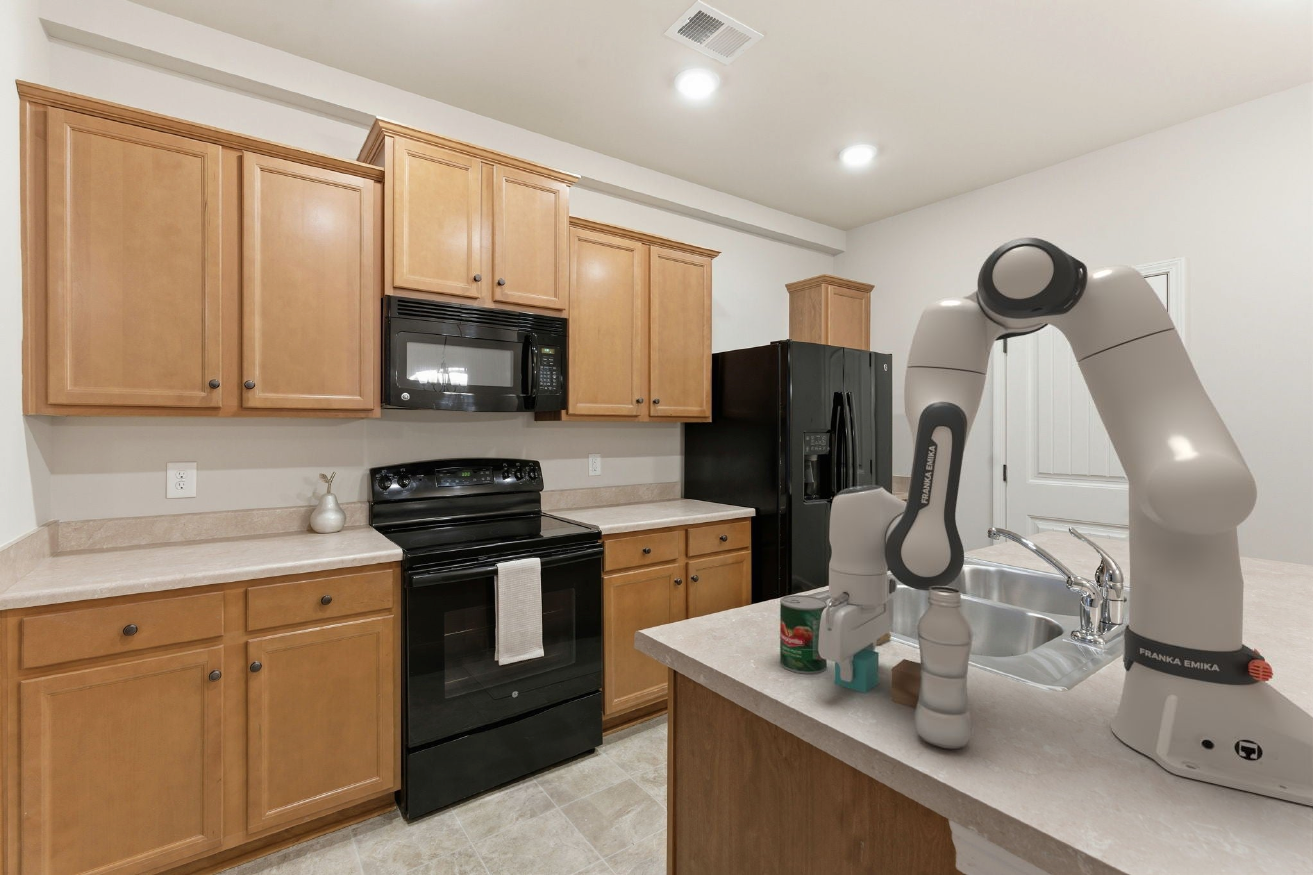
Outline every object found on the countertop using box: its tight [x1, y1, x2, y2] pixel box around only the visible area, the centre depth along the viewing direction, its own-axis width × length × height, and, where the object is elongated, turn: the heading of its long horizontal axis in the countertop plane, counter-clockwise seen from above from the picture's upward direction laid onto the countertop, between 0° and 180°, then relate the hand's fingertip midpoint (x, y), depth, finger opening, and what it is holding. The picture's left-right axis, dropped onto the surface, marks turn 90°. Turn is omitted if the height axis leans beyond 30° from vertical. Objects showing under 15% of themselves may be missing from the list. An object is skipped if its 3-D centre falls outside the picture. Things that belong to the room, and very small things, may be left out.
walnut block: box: [890, 658, 921, 709], centre depth 91 cm, size 5×5×5 cm
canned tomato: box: [779, 594, 828, 675], centre depth 105 cm, size 8×8×11 cm
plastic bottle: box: [914, 586, 974, 750], centre depth 79 cm, size 6×7×20 cm
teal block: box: [834, 649, 880, 694], centre depth 97 cm, size 5×5×5 cm
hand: (856, 673), depth 97 cm, fingers open, 5 cm apart
